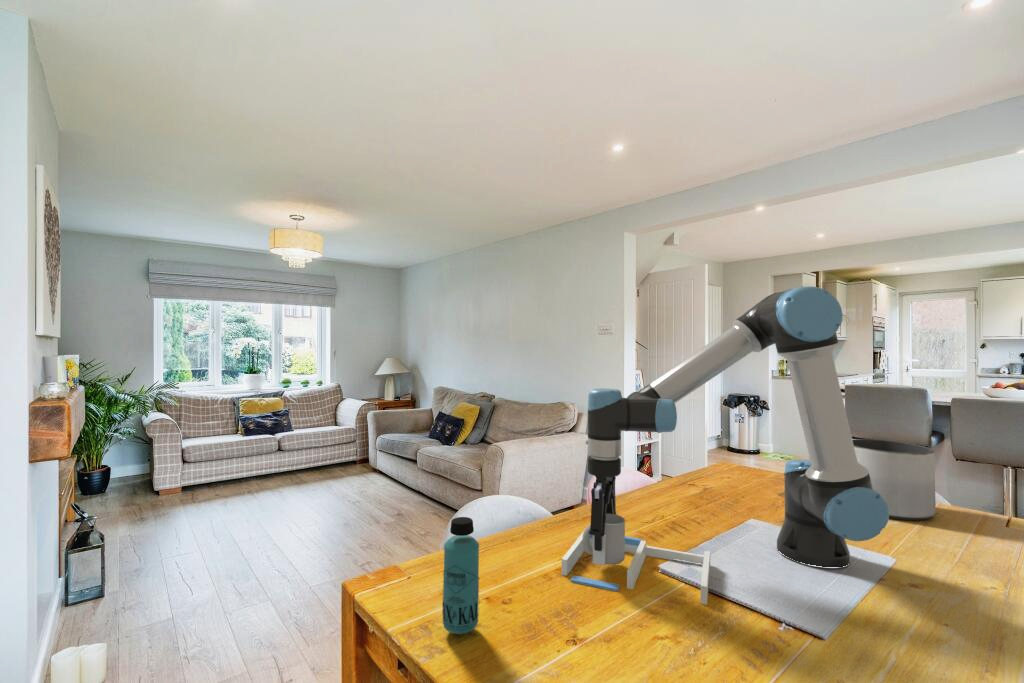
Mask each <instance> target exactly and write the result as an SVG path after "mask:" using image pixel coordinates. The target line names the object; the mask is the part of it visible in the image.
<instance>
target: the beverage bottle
mask: <svg viewBox="0 0 1024 683" xmlns="http://www.w3.org/2000/svg"><path fill="white" fill-rule="evenodd" d="M474 529H475V528H474V520H473V519H472V518H471V517H467V516H459V517H455V518H452V519H451V522H450V529H449V530H450V534H451V535H453V536H450V537H449V538H448V539H447V540H446V541H445V543H444V545H443V548H444V549H443V550H444V551H443V552H444V554H443V555H444V557H443V571H442V575H443V580H442V593H441V594H442V609H441V610H442V612H441V613H442V614H441V615H442V618H441V620H442V621H441V623H442V625H443V628H444V629H445V630H446V631H447V632H448V633H452V634H457V635H458V634H459V635H462V634H467V633H470V632H472V631H473V630H474V629H476V627H477V626H478V623H479V618H480V617H479V616H480V615H479V597H480V595H479V593H480V589H479V588H480V585H479V583H480V577H479V574H480V573H479V571H480V570H479V565H480V562H479V560H480V559H479V554H480V550H479V549H480V543H479V541H477V540H476V538H474V537H473V536H472V535H471V534H473V533H474Z"/></svg>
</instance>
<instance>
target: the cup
mask: <svg viewBox="0 0 1024 683" xmlns="http://www.w3.org/2000/svg"><path fill="white" fill-rule="evenodd" d="M590 526H591V524H589V525H587V526H586V527H585V529H584V530H583V531H584V533H583V547H584V550H585V551H584V552H585V553H587V554H588V555H592V556H593V546H590V543H589V538H590V534H589V531H590ZM604 533H605V535H606V564H605V565H610V566H611V565H613V566H614V565H619V564H621V563H623V562H624V561H625V556H626V555H625V554H626V552H625V536H626V519H625V517H623V516H621V515H618V514H616V515H615V514H608V513H606V521H605V532H604Z"/></svg>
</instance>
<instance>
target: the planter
mask: <svg viewBox="0 0 1024 683" xmlns="http://www.w3.org/2000/svg"><path fill="white" fill-rule="evenodd" d="M852 440H853V445H854V449H855V453H856V457H857V462H858V463H859V464H861V465H862V466H864V467H866V468H867V469H868V471H869V475H870V479H871V484H872V488H873V490H875V491H876V492H878V493H879V494H880V495H881V496H882V497H883V498H884V500H885V501H886V503H887V505H888V508H889V519H893V520H894V519H895V520H901V521H902V520H903V521H922V520H928V519H930V518H932V517H935V515H936V508H937V507H936V505H937V504H936V476H935V475H936V470H935V469H936V466H935V464H936V462H935V461H936V460H935V450H934V449H933V448H930V447H927V446H924V445H919V444H915V443H910V442H904V441H897V440H888V439H887V440H886V439H877V438H876V439H874V438H872V439H870V438H854V439H853V438H852Z"/></svg>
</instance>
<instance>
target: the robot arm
mask: <svg viewBox="0 0 1024 683" xmlns="http://www.w3.org/2000/svg"><path fill="white" fill-rule="evenodd" d="M843 317H844V316H843V309H842V306H841V304H840V302H839V301H838V299H837V298H836V297H835V296H834V295H833V294H832V293H831V292H829V291H827V290H826V289H824V288H821V287H819V286H818V287H817V286H810V285H808V286H795V287H793V288H790V289H787V290H786V289H785V290H784V291H783V290H782V291H779V292H774V293H772V294H769V295H767V296H766V297H764V298H763V299H762V300H760V301H759V302H758V303H755V305H753V306H752V307H751V308H750V309H748V310H747V311H746V312H744V313H743V314H742V315H741V316H739V317H738V318H736V319H735V320H734V321H732V327H731V328H729V329H727V330H726V331H725V332H723V333H721V334H720V335H719V336H717V337H716V338H713V340H711V341H710V342H708V343H706V345H704V346H702V347H701V348H700V349H698V350H697V351H695V352H694V353H692V354H690V355H689V356H687V358H685V359H683V360H682V361H680V362H679V363H678V364H675V365H674V366H673V367H672V368H670V369H668V370H667V371H666V372H665V373H663V374H662V375H660V376H658V377H657V378H655V379H654V380H653V381H651V382H650V383H648V384H647V385H645V386H644V387H641V389H639V390H638V391H637V390H636V391H633V392H631V393H629V394H628V395H627V396H626V397H623V396H622V391H621V390H620V389H618V388H608V387H607V388H594V389H591V390H590V391H589V392H588V396H587V397H588V401H587V440H585V444H586V445H587V454H588V455H589V456H588V457H587V472H588V474H589V475H591V476H594V477H595V481H594V482H593V486H592V487H593V488H591V490H590V493H591V494H590V496H591V503H590V504H591V505H590V508H591V509H590V525H591V526H590V531H589V534H590V535H593V546H592V547H593V555H592V564H594V565H598V566H606V565H607V564H606V535H605V533H604V532H605V521H606V513H608V514H615V515H617V509H616V508H617V506H616V503H617V502H616V478H617V477H619V476H620V475H621V472H622V459H621V458H620V457H621V456H622V432H641V433H642V432H643V433H646V432H647V433H658V434H661V433H672V432H674V431H675V430H676V427H677V422H678V421H677V420H678V413H677V412H678V411H677V407H676V404H677V402H679V401H681V400H683V399H684V398H685V397H687V396H689V395H690V394H691V393H693V392H695V391H696V390H697V389H699V388H701V387H702V386H703V385H704V384H706V383H708V382H709V381H711V380H712V379H713V378H715V377H716V376H718V375H719V374H721V373H722V372H724V371H726V370H727V369H729V368H730V367H732V366H733V365H735V364H736V363H737V362H739V361H741V360H742V359H743V358H745V357H746V356H748V355H749V354H751V353H760V352H762V351H763V350H765V349H767V348H768V347H770V346H772V345H775V348H776V352H777V355H779V356H780V357H782V358H783V359H786V361H787V365H788V369H789V375H790V378H791V383H792V388H793V392H794V396H795V400H796V404H797V408H798V409H797V410H798V413H799V417H800V421H801V426H802V429H803V431H802V432H803V434H804V440H805V443H806V448H807V452H808V458H809V459H789V460H787V461H786V462H785V465H784V472H783V476H784V520H783V523H782V526H781V528H780V529H779V530H780V531H779V534H778V536H777V538H776V550H777V549H778V550H777V551H780V552H781V553H782V554H784V555H785V556H787V557H789V558H791V559H793V560H795V561H798V562H802V563H805V564H810V565H816V566H822V567H843V566H846V565H848V564H849V563H850V564H851V555H850V554H851V552H850V550H849V547H848V545H847V541H846V540H848V541H852V542H864V541H868V540H871V539H874V538H876V537H877V536H878V535H880V534H881V532H882V531H883V529H885V528H886V526H888V522H889V519H890V518H889V508H888V505H887V503H886V501H885V500H884V498H883V497H882V496H881V495H880V494H879V493H878V492H876V491H875V490H873V488H872V484H871V479H870V475H869V471H868V469H867V468H866V467H864V466H862V465H861V464H859V463H858V462H857V457H856V453H855V449H854V445H853V440H852V439H853V437H852V433H851V428H850V423H849V420H848V416H847V412H846V411H847V410H846V406H845V403H844V398H843V394H842V391H841V390H842V389H841V385H840V381H839V377H838V373H837V368H836V364H835V360H834V356H833V352H834V351H835V349H836V348H837V346H839V340H838V335H837V332H838V331H839V328H840V326H841V325H842V323H843ZM795 561H794V562H795ZM798 562H797V563H798ZM850 564H849V565H850ZM849 565H848V566H849Z"/></svg>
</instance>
